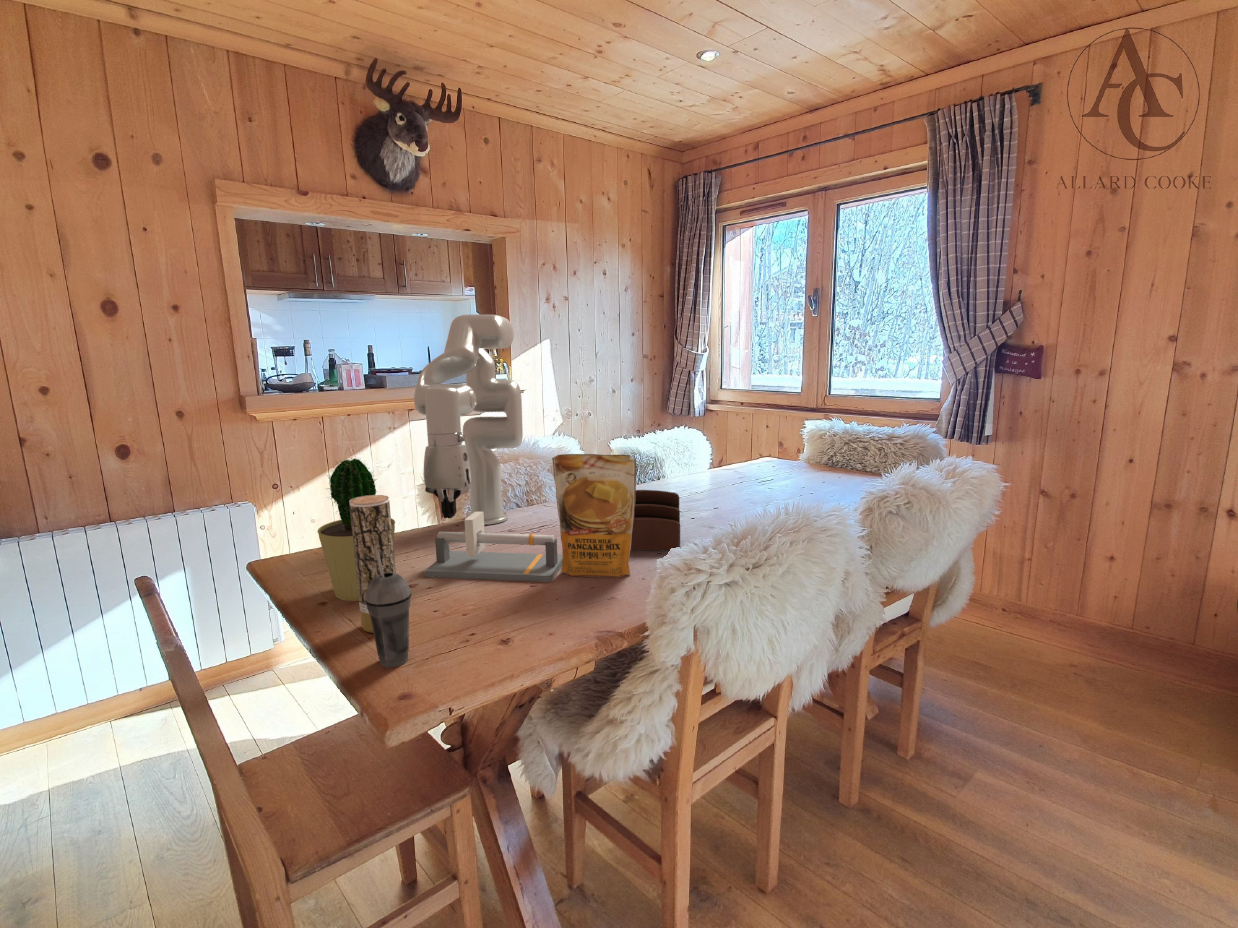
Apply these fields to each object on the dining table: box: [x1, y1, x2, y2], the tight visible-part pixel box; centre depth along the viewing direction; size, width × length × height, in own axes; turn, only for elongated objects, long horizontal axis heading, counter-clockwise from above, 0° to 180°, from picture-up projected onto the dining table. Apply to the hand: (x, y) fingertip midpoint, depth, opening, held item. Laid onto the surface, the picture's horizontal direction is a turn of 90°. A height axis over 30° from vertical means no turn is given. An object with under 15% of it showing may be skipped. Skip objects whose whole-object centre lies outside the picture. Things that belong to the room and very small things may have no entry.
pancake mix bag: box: [551, 453, 638, 579], centre depth 140 cm, size 7×19×28 cm, turn 83°
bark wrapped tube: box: [349, 494, 397, 634], centre depth 114 cm, size 7×7×25 cm
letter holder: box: [630, 489, 681, 551], centre depth 161 cm, size 10×20×14 cm, turn 86°
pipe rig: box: [424, 531, 562, 583], centre depth 145 cm, size 14×30×9 cm, turn 82°
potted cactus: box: [317, 456, 396, 602], centre depth 131 cm, size 15×15×30 cm
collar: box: [464, 512, 486, 557], centre depth 145 cm, size 7×2×9 cm, turn 172°
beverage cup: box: [365, 550, 412, 668], centre depth 102 cm, size 7×7×20 cm
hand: (449, 516), depth 144 cm, fingers closed
